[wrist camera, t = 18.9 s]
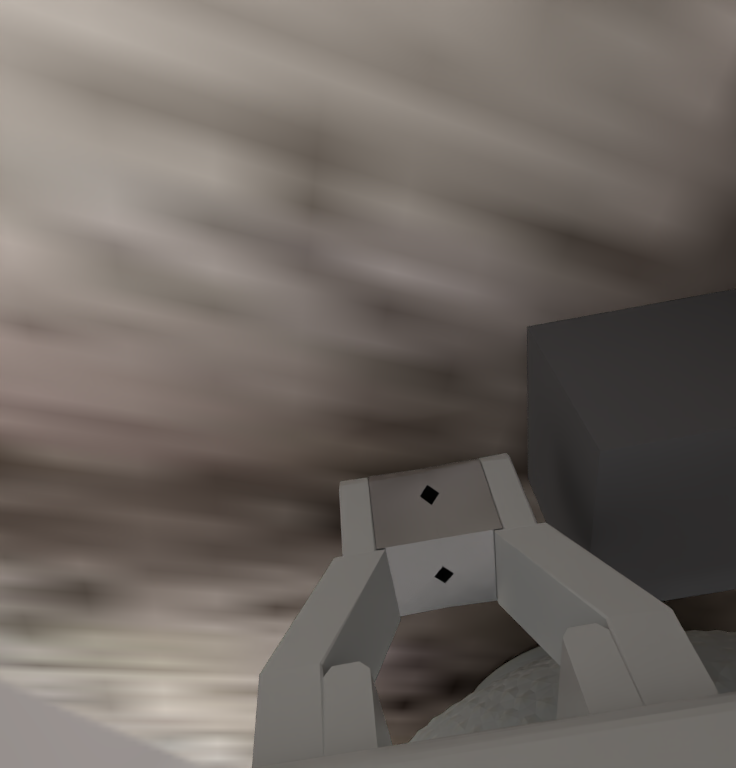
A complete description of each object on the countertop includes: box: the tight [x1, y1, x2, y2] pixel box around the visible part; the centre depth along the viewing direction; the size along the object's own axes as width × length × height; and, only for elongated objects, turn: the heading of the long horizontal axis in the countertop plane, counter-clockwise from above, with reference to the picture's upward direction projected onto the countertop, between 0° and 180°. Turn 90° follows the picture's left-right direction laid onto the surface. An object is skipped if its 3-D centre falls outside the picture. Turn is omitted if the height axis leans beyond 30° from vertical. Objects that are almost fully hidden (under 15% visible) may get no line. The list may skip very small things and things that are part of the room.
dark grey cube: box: [527, 289, 736, 601], centre depth 11 cm, size 4×4×4 cm
